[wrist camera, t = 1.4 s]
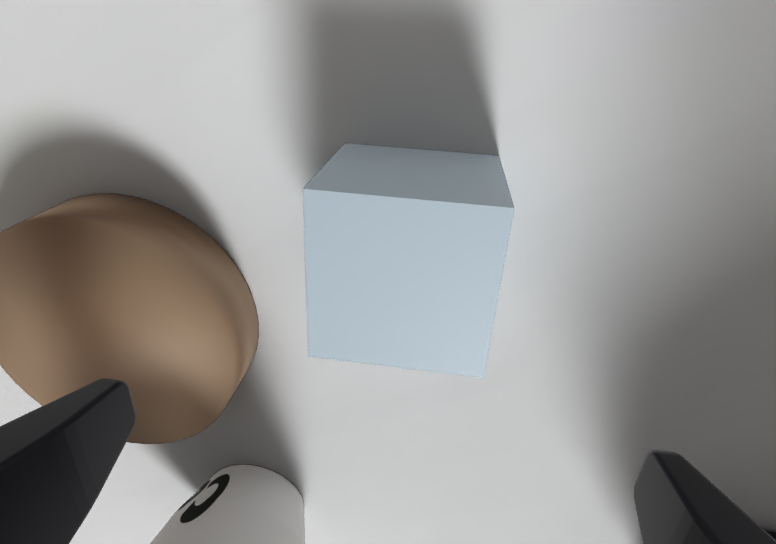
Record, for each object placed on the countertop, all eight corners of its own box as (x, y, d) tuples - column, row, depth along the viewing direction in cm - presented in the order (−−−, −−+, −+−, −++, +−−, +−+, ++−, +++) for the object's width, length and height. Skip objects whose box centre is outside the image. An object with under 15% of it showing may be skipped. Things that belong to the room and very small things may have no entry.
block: (499, 155, 16) (514, 208, 11) (477, 290, 18) (483, 378, 14) (345, 142, 16) (302, 188, 12) (344, 275, 18) (307, 356, 14)
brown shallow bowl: (248, 206, 17) (217, 232, 15) (266, 415, 22) (245, 458, 20) (-8, 182, 18) (-72, 204, 16) (61, 387, 23) (19, 426, 21)
